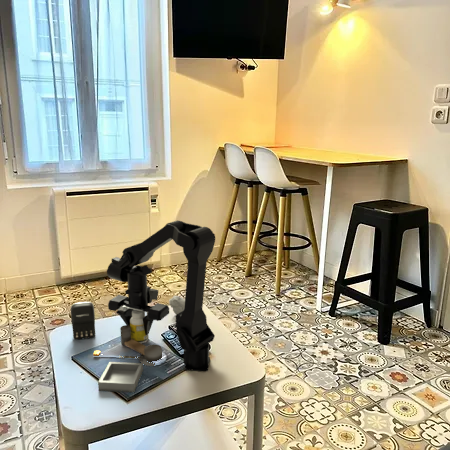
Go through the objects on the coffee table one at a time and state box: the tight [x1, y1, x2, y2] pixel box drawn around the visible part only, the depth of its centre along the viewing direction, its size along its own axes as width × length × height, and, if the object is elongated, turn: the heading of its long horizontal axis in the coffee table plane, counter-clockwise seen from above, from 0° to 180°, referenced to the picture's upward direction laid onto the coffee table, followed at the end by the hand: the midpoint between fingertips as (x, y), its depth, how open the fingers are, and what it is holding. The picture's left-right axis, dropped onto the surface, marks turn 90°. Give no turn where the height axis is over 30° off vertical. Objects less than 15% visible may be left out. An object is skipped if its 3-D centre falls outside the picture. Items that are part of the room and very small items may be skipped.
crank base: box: [92, 350, 155, 367], centre depth 124 cm, size 21×8×1 cm, turn 87°
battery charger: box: [70, 301, 96, 341], centre depth 133 cm, size 7×4×11 cm, turn 107°
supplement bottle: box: [130, 310, 149, 344], centre depth 132 cm, size 5×5×10 cm
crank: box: [119, 324, 163, 361], centre depth 126 cm, size 16×5×5 cm, turn 52°
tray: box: [97, 361, 144, 393], centre depth 113 cm, size 9×9×2 cm
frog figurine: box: [168, 295, 185, 315], centre depth 149 cm, size 6×7×7 cm
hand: (139, 332), depth 133 cm, fingers closed on supplement bottle, 5 cm apart
